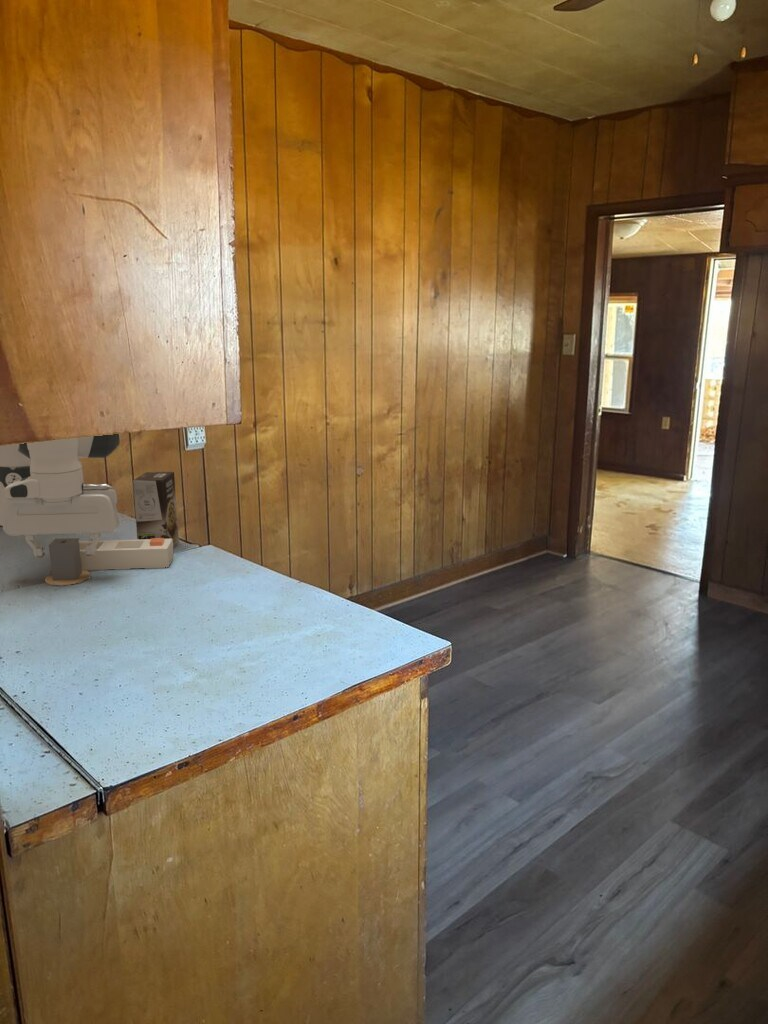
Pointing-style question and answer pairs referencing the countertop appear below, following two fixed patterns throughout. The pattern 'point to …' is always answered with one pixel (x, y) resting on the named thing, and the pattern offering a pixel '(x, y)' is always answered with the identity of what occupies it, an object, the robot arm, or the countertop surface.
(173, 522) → the coffee box
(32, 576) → the countertop surface
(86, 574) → the coaster
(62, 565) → the block
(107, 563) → the power strip
